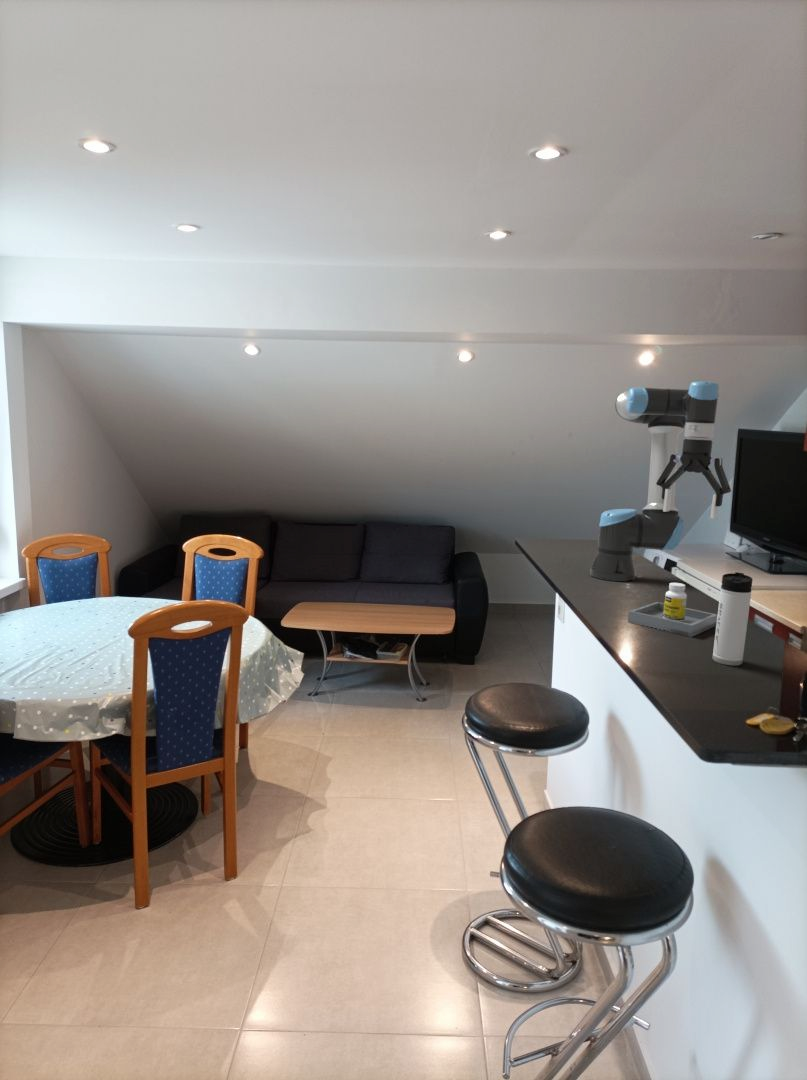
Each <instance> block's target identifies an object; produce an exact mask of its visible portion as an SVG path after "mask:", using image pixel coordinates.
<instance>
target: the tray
mask: <svg viewBox="0 0 807 1080" xmlns="http://www.w3.org/2000/svg"><path fill="white" fill-rule="evenodd" d="M664 603H665V602H660V601H655V602H652V603H650V604H647V605H643V606H639V607H637V608H634V609H631V610H629V611H628V615H627V616H628V618H627V623H629V622H631V623H630V624H633V623H635V625H638V624H639V626H642V625H644V626H643V627H646V626H649V627H648V628H650V627H653V628H652V629H654V628H657V629H656V630H659V629H661V630H660V631H663V630H666V631H665V632H667V631H669V632H668V633H671V632H673V634H675V633H678V634H677V635H680V634H681V636H684V637H689V638H693V637H695V636H696V635H699V634H701V633H704V632H705V631H708V630H710V629H713V628H716V624H717V616H718V613H713V612H712V613H711V612H708V611H702V610H699V609H693V608H688V607H686V610H685V619H684V621H683V622H679V621H674V620H670V619H665V618H663V613H664Z"/></svg>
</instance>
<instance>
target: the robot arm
mask: <svg viewBox="0 0 807 1080" xmlns="http://www.w3.org/2000/svg"><path fill="white" fill-rule="evenodd" d="M719 388H720V387H719V384H718V383H717V382H714V381H692V382H691V383H690V385H689V388H688V389H682V388H681V389H679V388H656V387H655V388H654V387H644V386H643V387H631V388H630V389H628V390H625V391H623V392H622V393H620V394H618V396H617V398H616V400H615V402H614V405H615V406H614V409H615V411H616V413H617V415H618V416H619V417H620V418H621V419H623V420H625V421H628V422H630V423H635V424H641V425H642V424H643V425H644V424H645V425H647V431H648V432H649V433H650V434H651V446H650V449H651V450H650V461H649V463H650V464H649V475H648V477H649V478H648V490H647V491H648V492H647V503H646V505H645V506H644V507H643V508H642V511H641V513H638V510H636V509H635V508H615V509H609V510H605V511H603V512H602V513H601V514H600V521H599V525H598V527H599V529H598V530H599V532H598V541H597V550H596V551H597V552H596V555H595V557H594V559H593V561H592V564H591V566H590V571H589V574H590V576H591V577H593V578H596V579H601V580H607V581H614V582H630V581H629V580H632V581H634V580H633V579H635V580H636V576H637V573H636V572H637V571H636V565H635V562H634V559H633V555H634V554H633V552H634V549H644V550H655V551H658V550H659V551H674V550H675V549H676V548H677V547H678V546H679V544H680V541H681V538H682V536H683V531H684V525H685V523H684V518H683V516H681V515H679V510H678V508H677V507H676V506H675V499H676V498H675V497H676V484H677V481H678V480H679V479H680V477H681V476H682V475H683V474H685V473H686V472H687V473H692V472H693V473H697V474H700V473H701V474H702V475H703V476H704V477H705V479H706V480H707V482H708V483H709V484H710V486H711V488H712V490H713V491H714V492H715V493H714V494H712V502H711V510H710V517H709V519H716V518H718V511H719V507H721V506H722V505H723V498H724V495H725V494H729V493H731V491H732V489H731V487H730V484H729V481H728V479H727V475H726V473H725V470H724V467H723V458H721V457H717V458H716V457H715V458H712V456H711V455H712V448H713V441H712V440H711V439H713V438H714V431H715V422H716V414H717V409H718V408H717V407H718V400H719V396H720V394H719V390H720V389H719ZM683 432H684V435H683V436H684V437H685V438H684V439H683V440H682V441H683V442H682V443H683V444H682V454H681V455H679V454H678V453H679V435H680V434H682V433H683ZM679 461H680V462H681V466H680V467H678V463H679ZM710 465H712V466H713V467H714V469H715V473H716V476H717V478H718V479H716V477H715V476H714V474H713V473H712V470H711V469H710V467H709V466H710ZM677 467H678V468H677ZM718 480H719V481H718Z"/></svg>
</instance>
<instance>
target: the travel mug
mask: <svg viewBox="0 0 807 1080" xmlns="http://www.w3.org/2000/svg"><path fill="white" fill-rule="evenodd" d="M720 586H721V587H720V593H719V599H718V600H719V601H718V606H717V607H718V609H717V615H718V616H717V624H716V626H715V634H714V642H713V650H712V651H713V652H712V660H713V661H714V662H716V663H718V664H719V665H720V664H721V665H724V666H732V667H733V666H740V665H742V664H743V661H744V652H745V645H746V636H747V628H748V620H749V614H750V606H751V598H752V586H753V577H751V576H750V575H746V574H745V573H743V572H737V571H735V572H734V573H733V572H731V573H725V574H722V578H721V585H720Z"/></svg>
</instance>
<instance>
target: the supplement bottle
mask: <svg viewBox="0 0 807 1080" xmlns="http://www.w3.org/2000/svg"><path fill="white" fill-rule="evenodd" d="M668 584H669V585H668V591H667V590H666V592H665V597H664V602H663V603H664V613H663V618H665V619H670V620H674V621H679V622H683V621H684V619H685V610H686V608H687V601H688V595H687V593H686V592H685V591H686V584H684V583H680V582H670V583H668Z"/></svg>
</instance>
